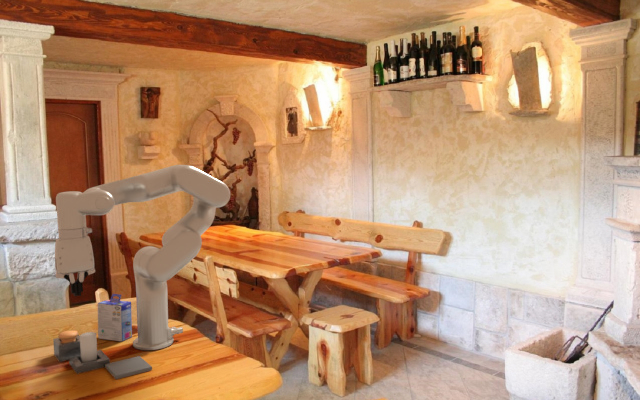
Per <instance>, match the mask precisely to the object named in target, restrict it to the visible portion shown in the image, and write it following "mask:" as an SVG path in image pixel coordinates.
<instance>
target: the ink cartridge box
mask: <svg viewBox="0 0 640 400" xmlns="http://www.w3.org/2000/svg"><path fill="white" fill-rule="evenodd" d="M114 297H117V298H114ZM121 299H122V294H117V293H112V295H111V296H110V299H106V300H103V301H100V302H97V333H98V334H97V335H98V336H97V338H98V339H101V340H108V341H114V342H124V341H126V340H128V339H131V338H133V328H132V327H133V326H132V324H133V321H132V319H133V318H132V301H129V300H128V301H125V300H121Z"/></svg>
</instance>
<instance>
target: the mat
mask: <svg viewBox="0 0 640 400" xmlns="http://www.w3.org/2000/svg"><path fill="white" fill-rule="evenodd" d="M104 368H105V369H106V370H107V371H108V372H109V374H111V376H112V377H114V379H115V380H118V379H122V378H126V377H131V376H134V375H138V374H142V373H145V372H151V371H152V370H153V367H152V365H151V364H149V362H148V361H146V360H145V359H144V358H143V357H142V356H140V355H137V356H133V357H129V358H125V359H122V360H117V361H113V362H110V363H108V364H105V367H104Z"/></svg>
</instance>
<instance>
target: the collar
mask: <svg viewBox="0 0 640 400" xmlns="http://www.w3.org/2000/svg"><path fill="white" fill-rule="evenodd" d="M110 361H111V359H110V357H108V355H106V354H105V352H103V350H101V349H97V360H93V361H89V362H85V363H81V354H80V355H75V356H71V357H69V360H68V363H69V365H70V367H71V368H72V369H73V370H74V372H75V373H76V374H77V375H78V374H81V373H86V372H90V371H93V370H98V369H102V368H105V364H108V363H111V362H110Z"/></svg>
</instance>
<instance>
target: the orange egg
mask: <svg viewBox="0 0 640 400" xmlns="http://www.w3.org/2000/svg"><path fill="white" fill-rule="evenodd" d="M78 335H79V333H78V330H65V331H61V332H60V333H58V338H59V339H61V343H67V342H72V341H76V337H77V336H78Z"/></svg>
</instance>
